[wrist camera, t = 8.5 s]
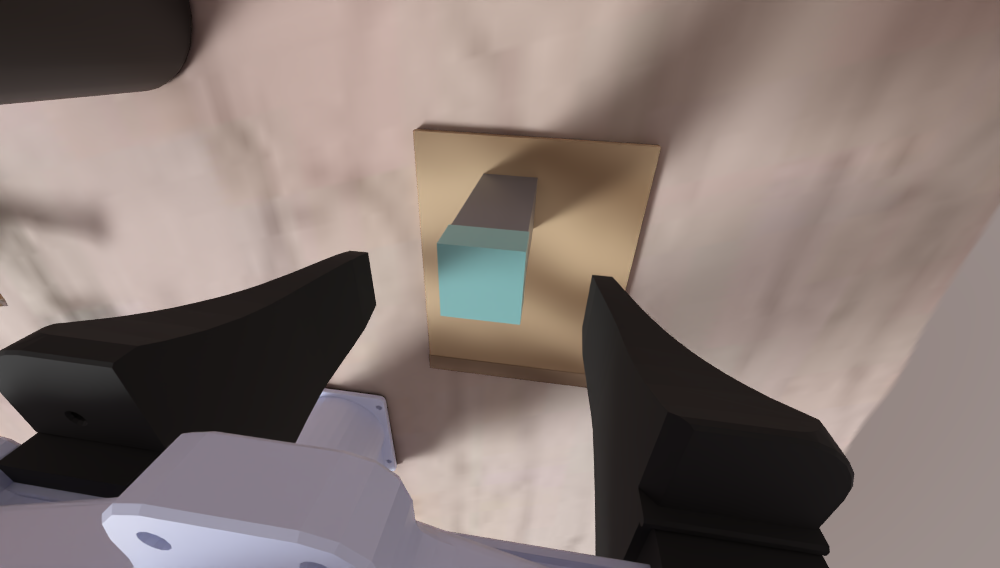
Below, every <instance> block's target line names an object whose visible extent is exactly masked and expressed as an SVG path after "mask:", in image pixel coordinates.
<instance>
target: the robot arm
mask: <svg viewBox="0 0 1000 568" xmlns="http://www.w3.org/2000/svg"><path fill="white" fill-rule="evenodd" d="M375 306H376V300H375V294H374V288H373V281H372V275H371V269H370V262H369V256H368V253H367V252H357V251H348V252H344V253H341V254H338V255H335V256H333V257H330V258H327V259H325V260H322V261H320V262H317V263H315V264H313V265H310V266H308V267H305V268H303V269H300V270H298V271H295V272H293V273H290V274H288V275H285V276H282V277H280V278H277V279H274V280H272V281H269V282H266V283H264V284H261V285H258V286H255V287H252V288H249V289H246V290H243V291H239V292H236V293H232V294H229V295H225V296H222V297H218V298H214V299H210V300H205V301H201V302H197V303H192V304H188V305H184V306H179V307H174V308H169V309H164V310H158V311H153V312H147V313H140V314H134V315H128V316H120V317H113V318H104V319H95V320H86V321H77V322H68V323H57V324H52V325H49V326H46V327H44V328H42V329H40V330H38V331H36V332H34V333H32V334H30V335H28V336H26V337H25V338H23V339H21V340H19V341H17V342H15V343H13V344H11V345H10V346H8V347H6V348H4V349H2V350H0V392H1V394H2V395H3V396H4V397H5V398H6V399H7V400H8V401H9V402H10V404H11V405H12V406H13V407H14V408H15V409H16V410H17V411H18V412H19V413H20V415H21V416H22V417H23V418H24V419H25V420H26V421H27V422H28V423H29V424H30V425H31V427H32V428H33V429H34V430H35V431H36V432H38V433H37V434H36V435H34V436H33V437H31V438H30V439H29V440H27V441H26V442H25V443H23V444H22V445H21V444H19V443H17V442H15V441H14V440H12V439H9V438H5V437H1V436H0V568H829V567H828V565H827V563H826V561H825V560H824V558H823V556H822V555H824V556H826V555H828V554H829V552H830V551H829V545H828V543H827V541H826V540H825V538H824V536H823V534H822V532H821V530H820V529H819V527H820V526H821V525H822V524H823V523H824V522H825V521H826V520H827V519H828V517H829V516H830V515H831V514H832V513H833V512H834V511H835V510H836V509H837V508H838V507H839V505H840V504H841V503H842V502H843V501H844V500H845V498H846V496H847V495H848V493H849V492H850V490H851V488H852V486H853V479H854V472H853V469H852V467H851V465H850V462H849V461H848V459H847V458H846V456H845V455H844V454H843V452H842V451H841V449H840V448H839V447H838V445H837V444H836V442H835V441H834V440H833V438H832V437H831V435H830V434H829V433H828V431H827V430H826V428H825V427H824V426H823V424H822V423H821V422H820V420H818V419H816V418H814V417H812V416H809V415H807V414H805V413H803V412H800V411H798V410H796V409H794V408H792V407H789V406H787V405H785V404H783V403H781V402H778V401H776V400H774V399H772V398H770V397H768V396H766V395H764V394H762V393H760V392H758V391H756V390H754V389H752V388H750V387H748V386H746V385H745V384H743V383H741V382H739V381H737V380H736V379H734V378H732V377H730V376H729V375H727V374H725V373H723V372H722V371H720V370H719V369H717V368H715V367H714V366H712V365H711V364H709V363H708V362H706V361H704V360H703V359H701V358H700V357H698V356H697V355H696V354H694V353H693V352H691V351H690V350H689V349H687V348H686V347H685V346H683V345H682V344H681V343H679V342H678V341H677V340H675V339H674V338H673V337H672V336H671V335H669V334H668V333H667V332H666V331H665V330H664V329H662V328H661V327H660V326H659V325H658V324H657V323H656V322H655V321H654V320H652V319H651V318H650V317H649V316H648V315H647V314H646V313H645V312H644V311H643V310H642V309H641V308H640V307H639V305H638V304H637V303H636V302H635V301H634V300H633V299H632V298H631V297H630V296H629V295H628V293H627V292H626V291H625V290H624V289H623V288H622V287H621V286H620V284H619V283H618V282H617V281H616V280H615V279H614V278H613V277H610V276H600V275H592V278H591V283H590V289H589V294H588V299H587V304H586V310H585V315H584V320H583V325H582V356H583V363H584V370H585V377H586V383H587V390H588V396H589V403H590V410H591V417H592V427H593V447H594V478H595V533H596V556H594V555H588V554H582V553H576V552H570V551H564V550H558V549H551V548H545V547H539V546H533V545H527V544H521V543H515V542H509V541H503V540H497V539H491V538H485V537H479V536H473V535H467V534H461V533H455V532H449V531H444V530H442V529H439V528H436V527H433V526H430V525H428V524H425V523H422V522H419V521H416V520H415V515H414V508H413V501H412V499H411V497H410V495H409V493H408V491H407V490H406V488H405V486H404V484H403V483H402V481H401V479H400V477H399V476H398V475H397V474H395V473H394V472H392V471H395V470H396V467H397V463H396V457H395V452H394V446H393V440H392V434H391V428H390V422H389V416H388V410H387V404H386V400H385V398H384V397H382V396H379V395H371V394H364V393H356V392H349V391H342V390H334V389H327V388H325V387H326V385H327V383H328V382H329V380H330V379H331V377H332V376H333V375H334V373H335V372H336V370H337V369H338V367H339V366H340V364H341V363H342V362H343V360H344V359H345V357H346V356H347V354H348V353H349V351H350V350H351V349H352V347H353V346H354V344H355V343H356V341H357V340H358V338H359V337H360V335H361V334H362V332H363V331H364V329H365V327H366V325H367V323H368V321H369V319H370V317H371V315H372V313H373V311H374V308H375Z"/></svg>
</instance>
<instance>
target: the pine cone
mask: <svg viewBox="0 0 1000 568" xmlns="http://www.w3.org/2000/svg"><path fill="white" fill-rule="evenodd" d="M0 306H8V305H7V303H6V301H5V299H4V298H3V297H2V295H1V294H0Z"/></svg>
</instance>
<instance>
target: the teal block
mask: <svg viewBox="0 0 1000 568" xmlns="http://www.w3.org/2000/svg"><path fill="white" fill-rule="evenodd" d="M537 181H538V178H536V177H523V176H510V175H497V174H484V173H483V175H482V177H481V178H480V180H479V181H478V183H477V184H476V186H475V188H474V189H473V191H472V192H471V194H470V196H469V197H468V199H467V200H466V202H465V203H464V205H463V207H462V208H461V210H460V211H459V213H458V215H457V216H456V218H455V219H454V221H453V222H452V224H451V225H450V224H449V225H448V227H447V228H446V230H445V231H444V233H443V234H442V236H441V237H440V239H439V241H438V242H437V258H438V277H439V296H440V315H441V316H446V317H455V318H464V319H473V320H482V321H491V322H499V323H508V324H517V325H520V322H521V315H522V308H523V301H524V290H525V279H526V273H527V266H528V259H529V253H530V246H531V240H532V233H533V225H534V214H535V203H536V192H537Z"/></svg>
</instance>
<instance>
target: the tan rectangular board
mask: <svg viewBox="0 0 1000 568" xmlns="http://www.w3.org/2000/svg"><path fill="white" fill-rule="evenodd" d="M413 137H414V150H415V164H416V177H417V190H418V203H419V217H420V230H421V243H422V256H423V270H424V283H425V296H426V309H427V323H428V336H429V349H430V354H429V361H430V368H436V369H444V370H451V371H459V372H467V373H475V374H483V375H491V376H499V377H507V378H515V379H523V380H530V381H538V382H546V383H554V384H562V385H570V386H578V387H586V388H587V383H586V377H585V370H584V363H583V356H582V325H583V320H584V315H585V310H586V304H587V299H588V294H589V289H590V283H591V278H592V275H600V276H610V277H613V278H614V279H615V280H616V281H617V282H618V283H619V284H620V286H621V287H622V288H623V289H624V290H626V286H627V282H628V278H629V274H630V270H631V266H632V262H633V258H634V254H635V250H636V246H637V242H638V238H639V234H640V230H641V226H642V222H643V218H644V214H645V210H646V206H647V202H648V198H649V194H650V190H651V186H652V182H653V178H654V174H655V170H656V166H657V162H658V158H659V154H660V150H661V147H660V146H659V145H649V144H634V143H619V142H604V141H589V140H574V139H559V138H544V137H530V136H515V135H500V134H485V133H470V132H455V131H440V130H425V129H415V130H413ZM483 173H484V174H497V175H510V176H523V177H536V178H538V181H537V192H536V203H535V214H534V225H533V233H532V240H531V246H530V253H529V259H528V266H527V273H526V279H525V290H524V301H523V308H522V315H521V322H520V325H517V324H508V323H499V322H491V321H482V320H473V319H464V318H455V317H446V316H441V315H440V296H439V277H438V258H437V242H438V241H439V239H440V237H441V236H442V234H443V233H444V231H445V230H446V228H447V227H448V225H449V224H450V225H451V224H452V222H453V221H454V219H455V218H456V216H457V215H458V213H459V211H460V210H461V208H462V207H463V205H464V203H465V202H466V200H467V199H468V197H469V196H470V194H471V192H472V191H473V189H474V188H475V186H476V184H477V183H478V181H479V180H480V178H481V177H482V175H483Z"/></svg>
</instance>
